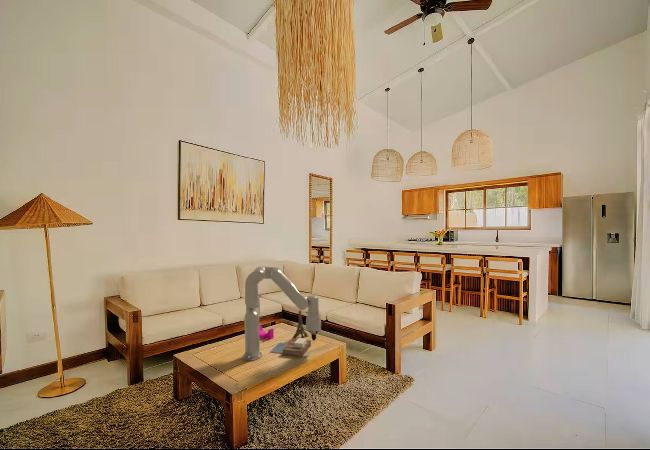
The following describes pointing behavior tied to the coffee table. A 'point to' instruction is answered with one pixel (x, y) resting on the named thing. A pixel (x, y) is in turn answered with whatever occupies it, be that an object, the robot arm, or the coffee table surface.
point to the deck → (295, 349)
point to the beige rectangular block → (300, 342)
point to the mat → (278, 348)
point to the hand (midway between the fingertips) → (314, 339)
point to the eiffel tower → (300, 328)
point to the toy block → (266, 335)
